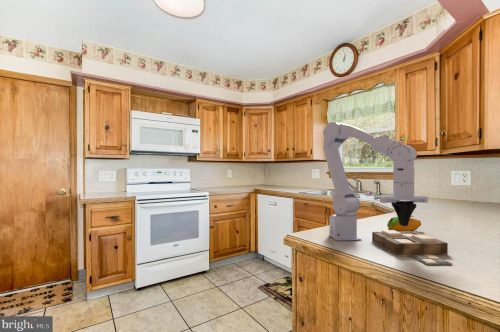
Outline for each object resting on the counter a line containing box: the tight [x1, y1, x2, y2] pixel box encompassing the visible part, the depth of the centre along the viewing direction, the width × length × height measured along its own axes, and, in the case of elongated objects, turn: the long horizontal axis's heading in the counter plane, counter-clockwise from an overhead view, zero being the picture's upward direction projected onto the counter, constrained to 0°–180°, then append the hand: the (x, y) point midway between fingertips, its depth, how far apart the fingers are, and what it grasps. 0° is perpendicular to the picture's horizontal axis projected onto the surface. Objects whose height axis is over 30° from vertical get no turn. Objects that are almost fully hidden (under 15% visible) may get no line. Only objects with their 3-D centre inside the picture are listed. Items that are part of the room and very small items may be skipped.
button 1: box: [381, 229, 402, 237], centre depth 87 cm, size 4×4×2 cm
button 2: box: [395, 239, 412, 243], centre depth 80 cm, size 4×4×2 cm
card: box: [409, 255, 453, 267], centre depth 72 cm, size 7×7×1 cm
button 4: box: [412, 234, 436, 242], centre depth 81 cm, size 4×4×2 cm
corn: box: [386, 215, 422, 232], centre depth 102 cm, size 7×8×20 cm
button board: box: [371, 230, 449, 256], centre depth 84 cm, size 16×14×4 cm
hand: (403, 225), depth 80 cm, fingers closed
